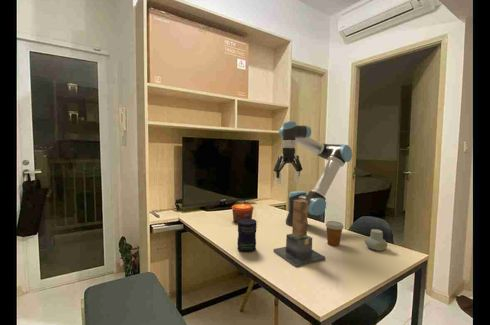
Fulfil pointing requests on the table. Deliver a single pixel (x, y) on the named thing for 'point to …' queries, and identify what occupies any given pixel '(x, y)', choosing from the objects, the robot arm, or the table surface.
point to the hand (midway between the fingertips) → (288, 182)
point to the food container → (242, 211)
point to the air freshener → (376, 240)
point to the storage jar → (247, 235)
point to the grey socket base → (298, 251)
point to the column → (300, 219)
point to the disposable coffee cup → (334, 232)
